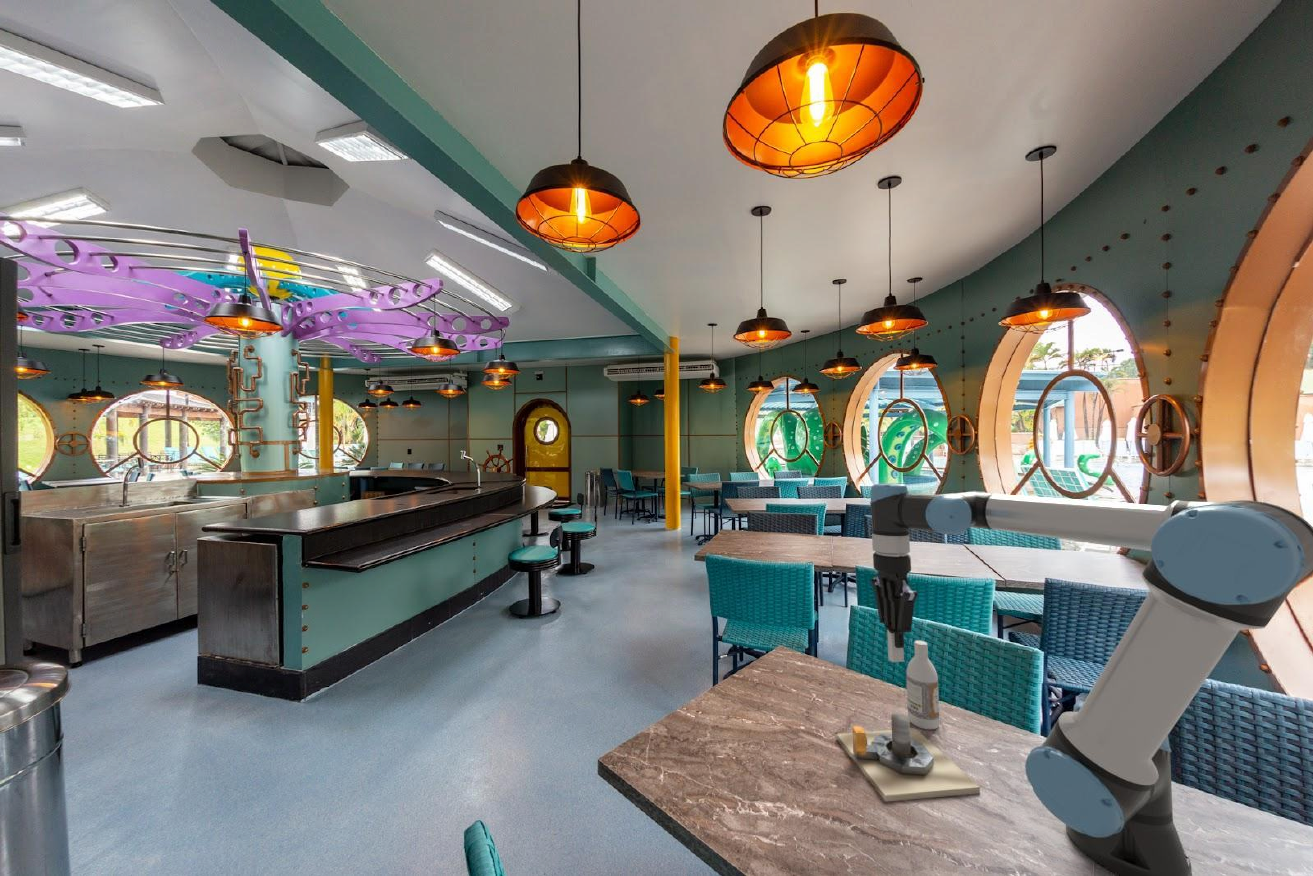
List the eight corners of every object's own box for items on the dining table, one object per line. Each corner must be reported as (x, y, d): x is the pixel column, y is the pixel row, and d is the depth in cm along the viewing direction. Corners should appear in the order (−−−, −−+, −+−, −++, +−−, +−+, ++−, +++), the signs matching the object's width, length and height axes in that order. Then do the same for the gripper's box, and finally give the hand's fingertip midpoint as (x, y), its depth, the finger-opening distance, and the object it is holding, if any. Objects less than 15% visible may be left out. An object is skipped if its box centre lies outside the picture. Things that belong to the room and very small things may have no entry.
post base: (979, 793, 93) (978, 742, 93) (885, 801, 91) (883, 750, 91) (915, 733, 113) (913, 691, 113) (836, 739, 111) (835, 696, 111)
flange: (915, 741, 107) (915, 717, 107) (941, 775, 96) (940, 748, 96) (846, 739, 108) (846, 715, 108) (864, 772, 97) (863, 745, 97)
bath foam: (934, 734, 112) (931, 650, 113) (904, 722, 117) (901, 642, 118) (943, 722, 117) (940, 642, 118) (913, 711, 122) (910, 635, 123)
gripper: (927, 558, 98) (933, 672, 97) (888, 546, 110) (892, 647, 109) (895, 560, 97) (900, 675, 95) (859, 548, 109) (863, 649, 108)
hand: (896, 660), depth 102 cm, fingers closed
